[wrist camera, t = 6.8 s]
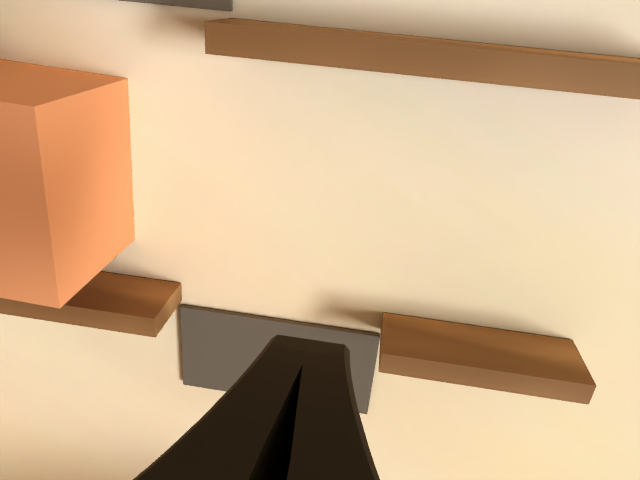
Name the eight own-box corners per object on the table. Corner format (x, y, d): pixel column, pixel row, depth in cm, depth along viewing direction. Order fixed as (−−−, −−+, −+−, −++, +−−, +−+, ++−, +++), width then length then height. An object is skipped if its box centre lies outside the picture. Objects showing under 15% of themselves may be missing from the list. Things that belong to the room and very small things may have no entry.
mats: (367, 410, 22) (367, 414, 21) (55, 360, 23) (52, 363, 23) (457, -135, 13) (457, -136, 13) (-41, -170, 14) (-47, -172, 14)
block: (136, 237, 20) (59, 308, 15) (-10, 212, 20) (-126, 273, 16) (129, 77, 17) (34, 106, 13) (-39, 52, 17) (-189, 71, 13)
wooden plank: (566, 357, 19) (588, 404, 17) (-45, 266, 21) (-97, 298, 19) (675, 62, 15) (726, 73, 12) (-120, -17, 17) (-200, -19, 14)
